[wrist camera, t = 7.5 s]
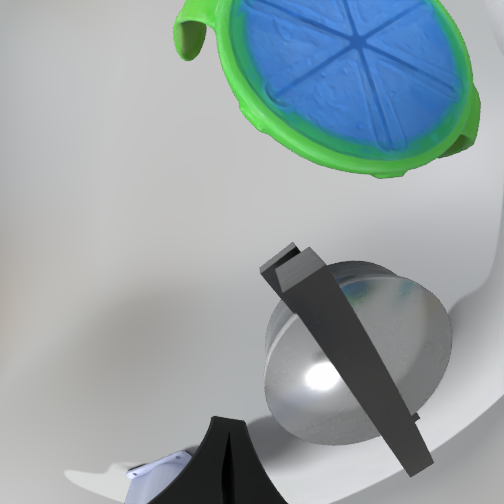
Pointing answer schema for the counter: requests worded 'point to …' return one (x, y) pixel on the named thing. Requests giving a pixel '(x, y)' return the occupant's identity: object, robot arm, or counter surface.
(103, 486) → the counter surface
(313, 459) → the counter surface
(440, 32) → the snack cup
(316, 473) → the counter surface
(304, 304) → the lid
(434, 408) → the counter surface
